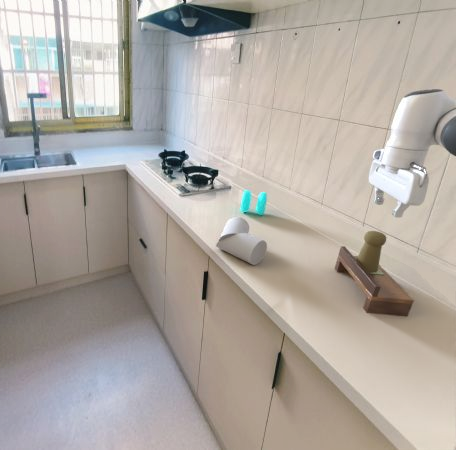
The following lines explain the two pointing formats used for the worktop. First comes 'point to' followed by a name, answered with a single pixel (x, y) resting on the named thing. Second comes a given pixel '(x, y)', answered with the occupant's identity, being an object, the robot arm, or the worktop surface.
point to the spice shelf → (375, 287)
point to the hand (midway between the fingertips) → (386, 209)
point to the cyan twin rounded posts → (247, 199)
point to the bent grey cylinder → (241, 241)
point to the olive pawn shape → (371, 251)
